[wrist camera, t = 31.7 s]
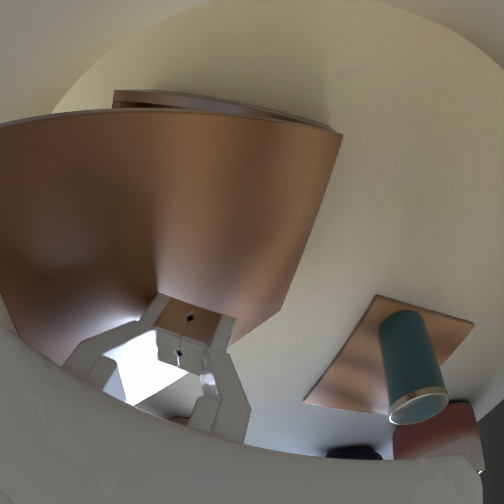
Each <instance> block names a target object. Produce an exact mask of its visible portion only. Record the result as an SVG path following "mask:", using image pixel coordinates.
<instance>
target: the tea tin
mask: <svg viewBox="0 0 504 504" xmlns="http://www.w3.org/2000/svg"><path fill="white" fill-rule="evenodd" d="M378 337H379V342H380V348H381V353H382V359H383V365H384V371H385V378H386V385H387V392H388V400H389V408H390V409H389V418H390V421H391V422H392V423H394V424H398V425H409V424H415V423H418V422H422V421H424V420H427V419H429V418H431V417H433V416H435V415H436V414H438V413H439V412H440V411H442V410H443V409H444V408H445V407H446V405H447V404H448V402H449V396H448V392H447V390H446V389H445V385H444V382H443V378H442V375H441V371H440V368H439V365H438V361H437V358H436V355H435V352H434V349H433V346H432V343H431V340H430V338H429V335H428V332H427V329H426V326H425V324H424V321H423V319H422V317H421V315H420V314H419V313H417V312H415V311H412V310H403V311H399V312H396V313H394V314H392V315H390V316H389V317H387V318H386V319H385V320H384V321H383V322H382V324H381V325H380V327H379V330H378Z"/></svg>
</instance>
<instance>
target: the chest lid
mask: <svg viewBox="0 0 504 504" xmlns="http://www.w3.org/2000/svg"><path fill="white" fill-rule="evenodd" d="M342 139H343V134H340V133H338V132H335V131H332V130H328V129H323V128H319V127H314V126H310V125H305V124H300V123H295V122H290V121H284V120H279V119H273V118H266V117H260V116H253V115H246V114H238V113H229V112H219V111H208V110H195V109H176V108H113V109H96V110H83V111H73V112H64V113H56V114H49V115H42V116H36V117H30V118H24V119H19V120H14V121H10V122H5V123H1V124H0V294H1V297H2V299H3V301H4V304H5V306H6V309H7V311H8V313H9V315H10V318H11V320H12V322H13V324H14V326H15V328H16V330H17V332H18V334H19V336H20V338H21V339H23V340H24V341H25V342H27V343H28V344H29V345H31V346H32V347H33V348H35V349H36V350H37V351H39V352H40V353H42V354H43V355H45V356H46V357H47V358H49V359H50V360H52V361H53V362H55V363H56V364H58V365H60V366H61V367H62V365H63V364H64V363H65V361H66V360H67V359H68V357H69V356H70V355H71V353H72V352H73V351H74V349H75V348H76V347H77V345H78V344H79V343H80V342H81V341H83V340H85V339H88V338H90V337H93V336H96V335H98V334H101V333H103V332H106V331H108V330H111V329H113V328H116V327H118V326H121V325H123V324H126V323H128V322H131V321H133V320H136V321H139V319H140V318H141V316H142V315H143V313H144V312H145V311H146V309H147V308H148V306H149V305H150V303H151V302H152V301H153V299H154V298H155V296H156V295H157V294H159V293H162V294H165V295H167V296H170V297H173V298H176V299H178V300H181V301H184V302H187V303H189V304H192V305H195V306H198V307H201V308H205V309H208V310H211V311H214V312H217V313H221V314H224V315H227V316H231V317H234V318H236V319H237V320H236V324H235V327H234V331H233V335H232V338H231V342H230V345H231V344H233V343H234V342H236V341H237V340H239V339H240V338H242V337H243V336H245V335H246V334H248V333H249V332H250V331H252V330H253V329H255V328H256V327H258V326H259V325H260V324H262V323H263V322H265V321H266V320H267V319H269V318H270V317H272V316H273V315H274V314H276V313H277V312H279V311H280V310H281V307H282V305H283V302H284V300H285V297H286V295H287V292H288V290H289V287H290V285H291V282H292V280H293V277H294V275H295V272H296V270H297V267H298V264H299V262H300V259H301V257H302V254H303V251H304V249H305V246H306V243H307V241H308V238H309V235H310V232H311V230H312V227H313V224H314V222H315V219H316V216H317V213H318V210H319V208H320V205H321V202H322V199H323V196H324V193H325V190H326V187H327V184H328V182H329V179H330V176H331V173H332V170H333V167H334V164H335V161H336V157H337V154H338V151H339V148H340V145H341V142H342ZM230 345H229V346H230ZM187 373H188V371H186V370H183V369H180V368H178V367H175V366H172V365H169V364H166V363H164V362H161V361H158V360H157V362H155V363H154V364H152V365H151V366H149V367H147V368H146V369H144V370H142V371H141V372H139V373H137V374H136V375H134V376H132V377H131V378H129V379H127V380H126V381H124V382H122V384H123V387H124V391H125V394H126V397H127V399H126V401H125V402H126V403H128V404H131V405H135V404H137V403H138V402H140V401H142V400H144V399H145V398H147V397H149V396H151V395H152V394H154V393H156V392H157V391H159V390H161V389H162V388H164V387H166V386H167V385H169V384H171V383H172V382H174V381H176V380H177V379H179V378H180V377H182V376H184V375H185V374H187Z"/></svg>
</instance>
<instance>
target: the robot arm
mask: <svg viewBox="0 0 504 504" xmlns="http://www.w3.org/2000/svg"><path fill="white" fill-rule="evenodd" d="M236 320H237V319H236V318H234V317H231V316H227V315H224V314H221V313H217V312H214V311H211V310H208V309H205V308H201V307H198V306H195V305H192V304H189V303H187V302H184V301H181V300H178V299H176V298H173V297H170V296H167V295H165V294H162V293H159V294H157V295H156V296H155V298H154V299H153V301H152V302H151V303H150V305H149V306H148V308H147V309H146V311H145V312H144V313H143V315H142V316H141V318H140V319H139V321H136V320H133V321H131V322H128V323H126V324H123V325H121V326H118V327H116V328H113V329H111V330H108V331H106V332H103V333H101V334H98V335H96V336H93V337H90V338H88V339H85V340H83V341H81V342H80V343H79V344H78V345H77V347H76V348H75V349H74V351H73V352H72V353H71V355H70V356H69V357H68V359H67V360H66V361H65V363H64V364H63V365H62V367H61V366H60V365H58V364H56V363H55V362H53V361H52V360H50V359H49V358H47V357H46V356H45V355H43V354H42V353H40V352H39V351H37V350H36V349H35V348H33V347H32V346H31V345H29V344H28V343H27V342H25V341H24V340H23V339H21V338H20V337H19V336H17V335H16V334H15V333H14V332H12V331H11V330H10V329H9V328H8V327H6V326H5V325H4V324H3V323H2V322H1V321H0V504H483V493H482V483H481V478H480V476H479V474H478V472H477V471H476V469H475V468H474V467H473V465H472V464H471V463H470V461H469V460H468V459H467V458H466V457H465V456H464V455H462V454H452V455H445V456H438V457H429V458H418V459H402V460H352V459H336V458H325V457H315V456H307V455H299V454H293V453H286V452H280V451H275V450H270V449H265V448H260V447H255V446H251V445H246V444H243V443H244V439H245V435H246V430H247V426H248V422H249V418H250V413H251V407H250V404H249V402H248V400H247V397H246V395H245V392H244V390H243V387H242V385H241V382H240V380H239V377H238V375H237V372H236V370H235V367H234V365H233V362H232V360H231V357H230V354H228V353H227V352H228V349H229V345H230V342H231V338H232V335H233V331H234V327H235V324H236ZM157 360H158V361H161V362H164V363H166V364H169V365H172V366H175V367H178V368H180V369H183V370H186V371H188V372H191V373H193V374H196V375H199V376H200V381H201V385H202V389H203V393H204V396H201V397H199V398H197V401H196V404H195V406H194V409H193V411H192V414H191V416H190V419H189V421H188V424H187V426H186V427H185V426H182V425H179V424H177V423H174V422H171V421H169V420H166V419H163V418H161V417H158V416H156V415H153V414H151V413H149V412H146V411H144V410H142V409H139V408H137V407H135V406H133V405H131V404H128V403H126V402H125V401H126V399H127V397H126V394H125V391H124V387H123V384H122V382H124V381H126V380H127V379H129V378H131V377H132V376H134V375H136V374H137V373H139V372H141V371H142V370H144V369H146V368H147V367H149V366H151V365H152V364H154V363H155V362H157Z"/></svg>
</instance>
